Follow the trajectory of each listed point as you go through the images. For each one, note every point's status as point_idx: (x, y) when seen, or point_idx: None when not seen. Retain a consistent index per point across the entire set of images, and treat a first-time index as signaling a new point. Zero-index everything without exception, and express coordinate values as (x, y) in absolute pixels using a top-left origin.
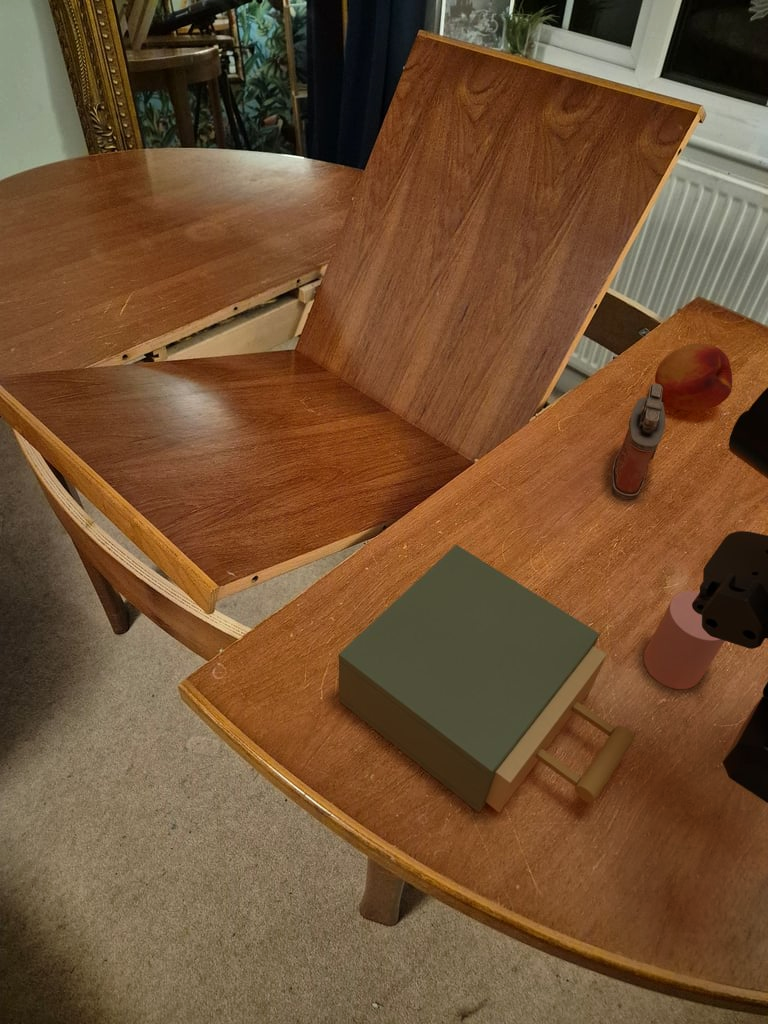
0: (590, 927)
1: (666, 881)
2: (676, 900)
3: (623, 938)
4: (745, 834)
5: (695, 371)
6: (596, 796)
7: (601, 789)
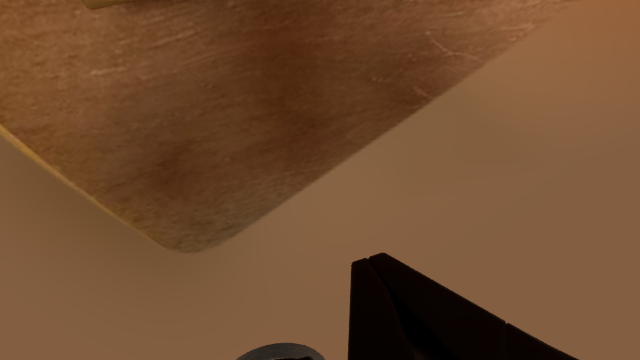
0: (35, 127)
1: (183, 143)
2: (178, 164)
3: (75, 159)
4: (321, 158)
5: None
6: (96, 7)
7: (120, 2)
